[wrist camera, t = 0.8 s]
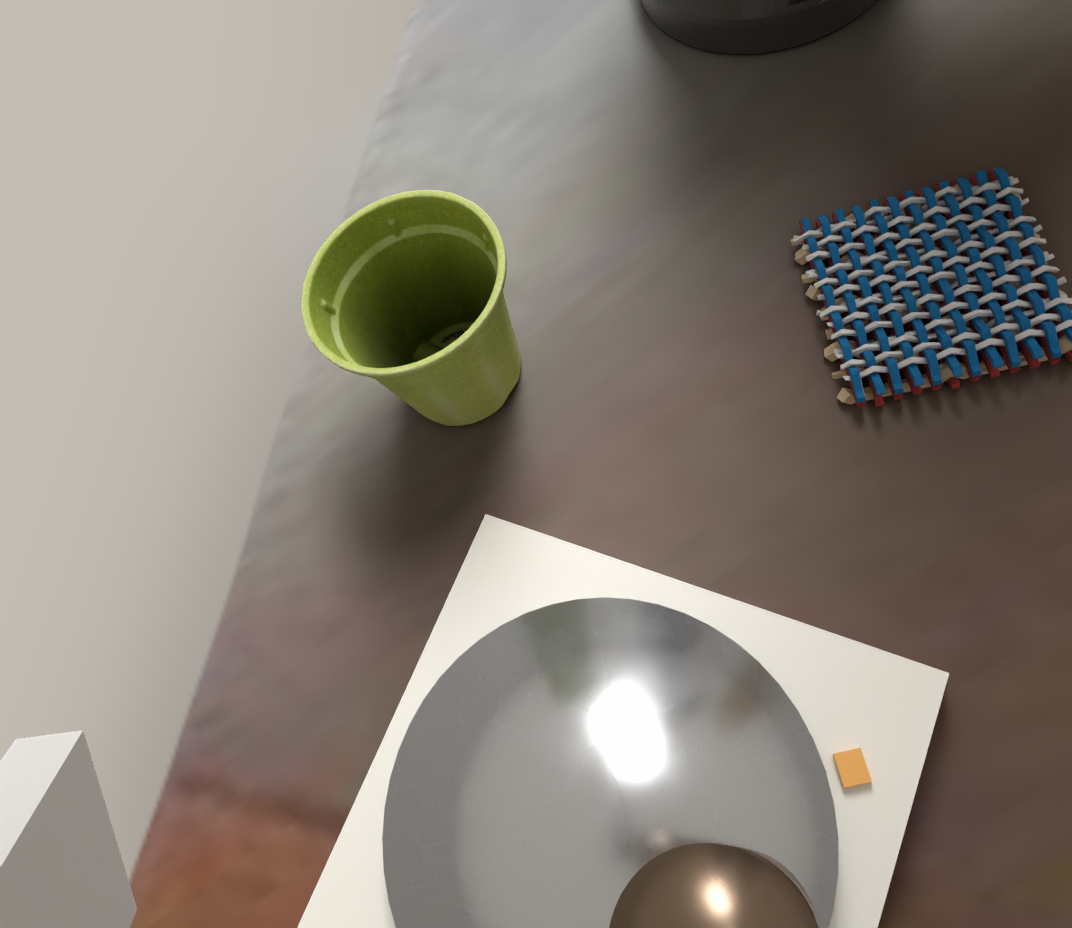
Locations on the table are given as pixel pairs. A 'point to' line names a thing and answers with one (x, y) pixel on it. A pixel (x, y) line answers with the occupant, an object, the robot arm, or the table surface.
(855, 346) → the woven mat
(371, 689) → the table surface
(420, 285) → the plant pot
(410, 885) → the dial
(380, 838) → the dial board
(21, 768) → the robot arm
